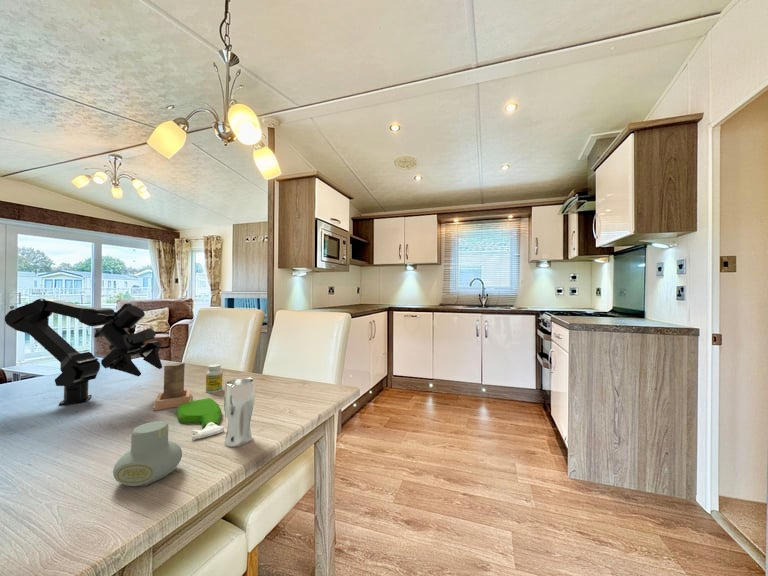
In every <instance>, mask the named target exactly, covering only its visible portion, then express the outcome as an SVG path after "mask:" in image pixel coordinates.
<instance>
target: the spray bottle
mask: <svg viewBox="0 0 768 576" xmlns="http://www.w3.org/2000/svg"><path fill="white" fill-rule="evenodd" d="M176 414H177V419H178V421H179V422H180V423H182V424H201V430H199V429H191V432H192V433H196V434H193V435H191V440H192V441H194V440H199V439H204V438H207V437H211V436H214V435H217V434H220V433H222V432H225V431H224V430H225V426H224V425H223V426H222V425H219V423H220V421H221V420H222V414H223V413H222V409H221V406H220V405H219V404H218V402H216V401H215V400H214V399H213V398H210V397H207V398H202V399H197V400H191V401H190V402H185V403H182V404H181V405H180V406H179V407H178V408H177V410H176Z"/></svg>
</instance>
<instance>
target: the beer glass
mask: <svg viewBox="0 0 768 576" xmlns="http://www.w3.org/2000/svg"><path fill="white" fill-rule="evenodd" d="M255 391H256V390H255V379H254V378H251V377H237V378H232V379H229V380H227V381H226V382H225V385H224V393H223V394H224V395H223V406H224V416H225V421H226V436H225V439H224V445H225V446H227V447H229V448H236V447H242V446H244V445H247V444H249V442H251V441H252V439H253V438H252V436H253V435H252V431H251V422H252V415H253V411H254V406H255Z"/></svg>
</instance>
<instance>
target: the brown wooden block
mask: <svg viewBox="0 0 768 576" xmlns="http://www.w3.org/2000/svg"><path fill="white" fill-rule="evenodd" d="M185 364H186V363H185V362H172V363H169V364H165V365H164V368H163V369H164V370H163V372H164V373H163V393H164V396H163V400H164V399H171V398H178V397H184V390H185V368H186V367H185Z"/></svg>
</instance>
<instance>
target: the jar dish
mask: <svg viewBox="0 0 768 576" xmlns="http://www.w3.org/2000/svg"><path fill="white" fill-rule="evenodd" d="M163 396H164V392H160V393H159V392H158V394H157V397H156V400H155V401H154V404H153V407H152V411H156V410H157V411H158V410H165V409H171V408H177V407H179V406H180V405H181V404H182V403H185V402H190V401H192V396H193V393H191V388H190V389H189V388H188V389H184V397H178V398H171V399H164V400H163Z"/></svg>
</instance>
